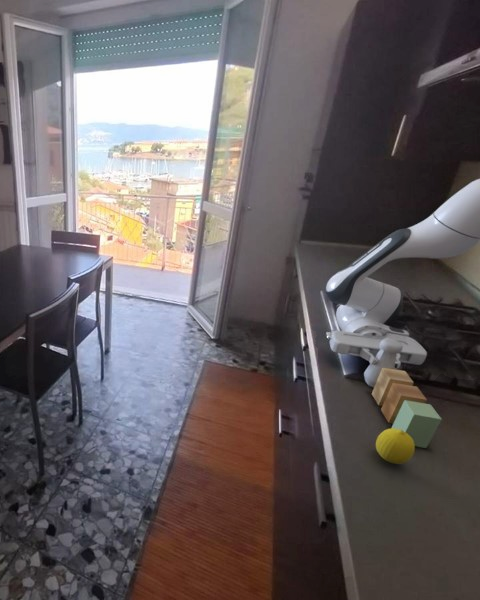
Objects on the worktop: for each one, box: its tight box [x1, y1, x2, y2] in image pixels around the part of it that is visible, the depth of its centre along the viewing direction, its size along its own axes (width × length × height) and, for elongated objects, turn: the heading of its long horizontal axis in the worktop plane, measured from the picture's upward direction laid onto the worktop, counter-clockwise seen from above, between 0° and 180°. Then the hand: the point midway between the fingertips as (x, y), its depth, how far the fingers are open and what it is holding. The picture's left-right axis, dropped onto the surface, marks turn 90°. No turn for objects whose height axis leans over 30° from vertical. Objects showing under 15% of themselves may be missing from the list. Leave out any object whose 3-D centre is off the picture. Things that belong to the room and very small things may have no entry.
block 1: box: [371, 368, 415, 407], centre depth 85 cm, size 4×4×8 cm
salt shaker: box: [363, 339, 403, 388], centre depth 90 cm, size 6×6×13 cm
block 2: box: [380, 383, 428, 425], centre depth 80 cm, size 4×4×8 cm
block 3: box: [391, 400, 443, 449], centre depth 75 cm, size 4×4×8 cm
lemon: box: [375, 428, 416, 465], centre depth 70 cm, size 6×6×8 cm
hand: (386, 363), depth 89 cm, fingers closed on salt shaker, 3 cm apart
